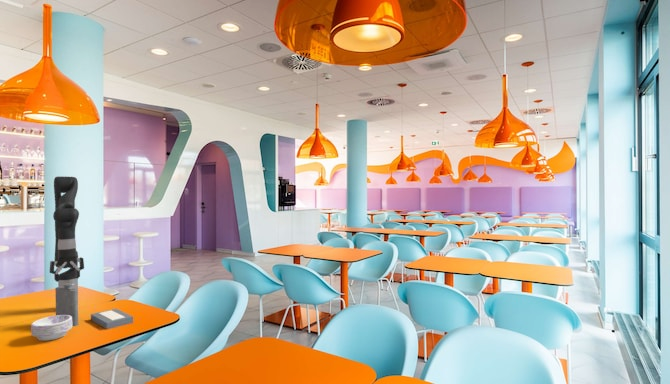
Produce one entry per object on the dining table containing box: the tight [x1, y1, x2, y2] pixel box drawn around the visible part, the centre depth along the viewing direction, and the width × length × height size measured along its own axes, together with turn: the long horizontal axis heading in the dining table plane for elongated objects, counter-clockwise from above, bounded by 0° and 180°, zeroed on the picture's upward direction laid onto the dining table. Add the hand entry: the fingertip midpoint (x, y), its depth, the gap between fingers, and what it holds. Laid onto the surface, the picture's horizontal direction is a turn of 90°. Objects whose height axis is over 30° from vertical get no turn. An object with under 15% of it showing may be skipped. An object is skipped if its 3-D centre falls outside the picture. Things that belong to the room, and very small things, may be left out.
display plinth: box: [90, 308, 134, 330], centre depth 197 cm, size 22×12×3 cm, turn 50°
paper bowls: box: [30, 314, 73, 342], centre depth 176 cm, size 15×15×8 cm
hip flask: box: [55, 283, 79, 327], centre depth 195 cm, size 16×4×20 cm, turn 64°
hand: (67, 279), depth 195 cm, fingers open, 8 cm apart
